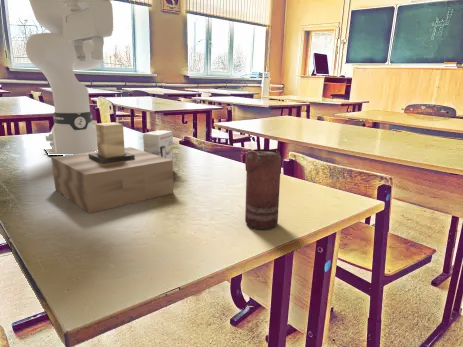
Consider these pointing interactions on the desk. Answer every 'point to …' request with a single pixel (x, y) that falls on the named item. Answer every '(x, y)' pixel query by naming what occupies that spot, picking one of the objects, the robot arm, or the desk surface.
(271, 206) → the can
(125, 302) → the desk surface
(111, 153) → the peg
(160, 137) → the ink box
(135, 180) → the sleeve block
